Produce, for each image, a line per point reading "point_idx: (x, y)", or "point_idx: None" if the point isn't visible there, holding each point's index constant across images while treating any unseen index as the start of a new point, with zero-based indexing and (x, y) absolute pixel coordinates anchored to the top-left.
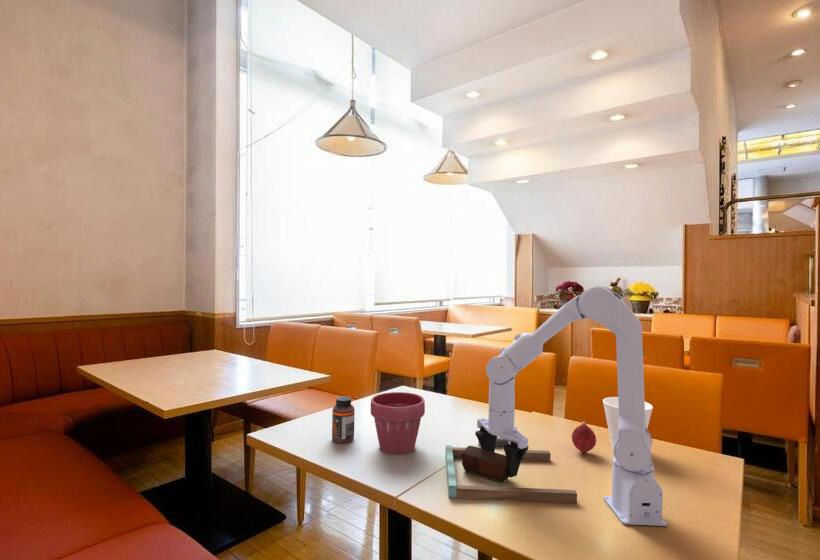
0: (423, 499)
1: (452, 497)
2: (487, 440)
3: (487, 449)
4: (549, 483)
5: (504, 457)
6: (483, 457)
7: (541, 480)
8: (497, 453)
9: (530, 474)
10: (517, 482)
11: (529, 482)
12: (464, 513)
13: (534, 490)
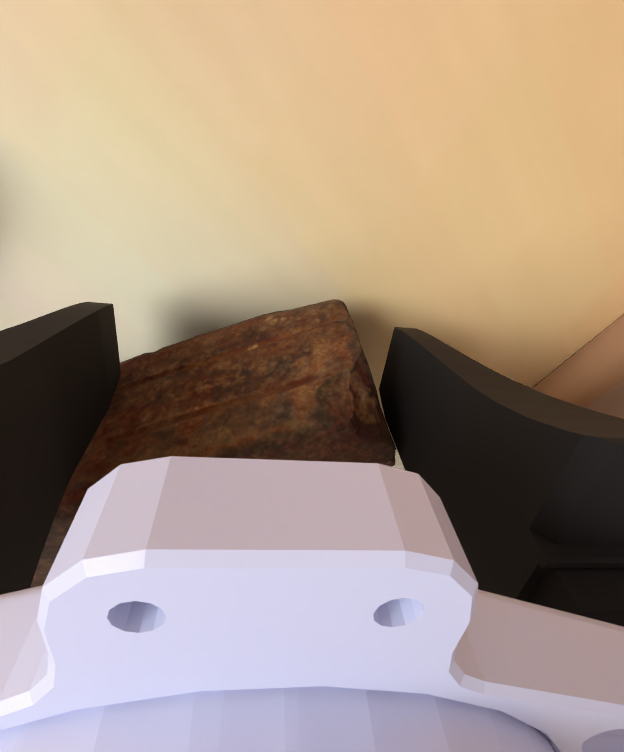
0: None
1: None
2: (13, 523)
3: (66, 438)
4: (598, 67)
5: (337, 449)
6: None
7: (520, 80)
8: (238, 457)
9: (389, 58)
10: (395, 288)
11: (459, 211)
12: None
13: (619, 408)
